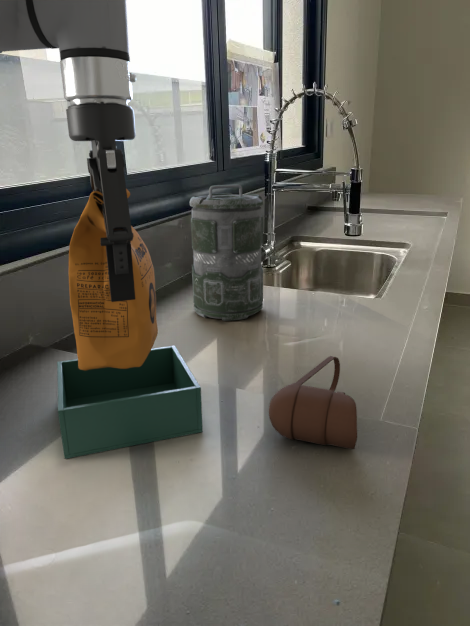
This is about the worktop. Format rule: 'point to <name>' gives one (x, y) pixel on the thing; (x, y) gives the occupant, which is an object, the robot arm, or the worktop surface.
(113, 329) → the coffee package
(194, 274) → the canister
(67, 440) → the green open box
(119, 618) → the worktop surface
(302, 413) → the brown strapped handbag
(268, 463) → the worktop surface
